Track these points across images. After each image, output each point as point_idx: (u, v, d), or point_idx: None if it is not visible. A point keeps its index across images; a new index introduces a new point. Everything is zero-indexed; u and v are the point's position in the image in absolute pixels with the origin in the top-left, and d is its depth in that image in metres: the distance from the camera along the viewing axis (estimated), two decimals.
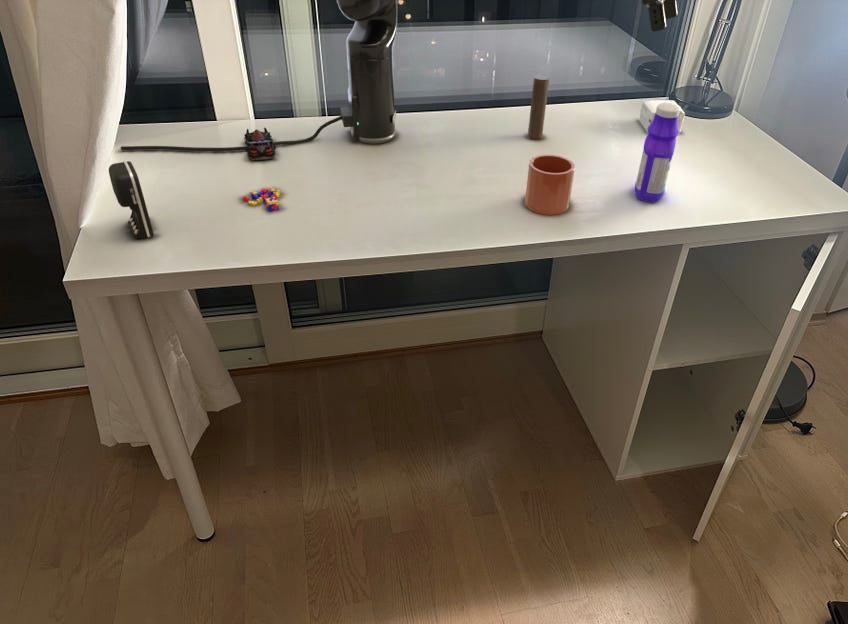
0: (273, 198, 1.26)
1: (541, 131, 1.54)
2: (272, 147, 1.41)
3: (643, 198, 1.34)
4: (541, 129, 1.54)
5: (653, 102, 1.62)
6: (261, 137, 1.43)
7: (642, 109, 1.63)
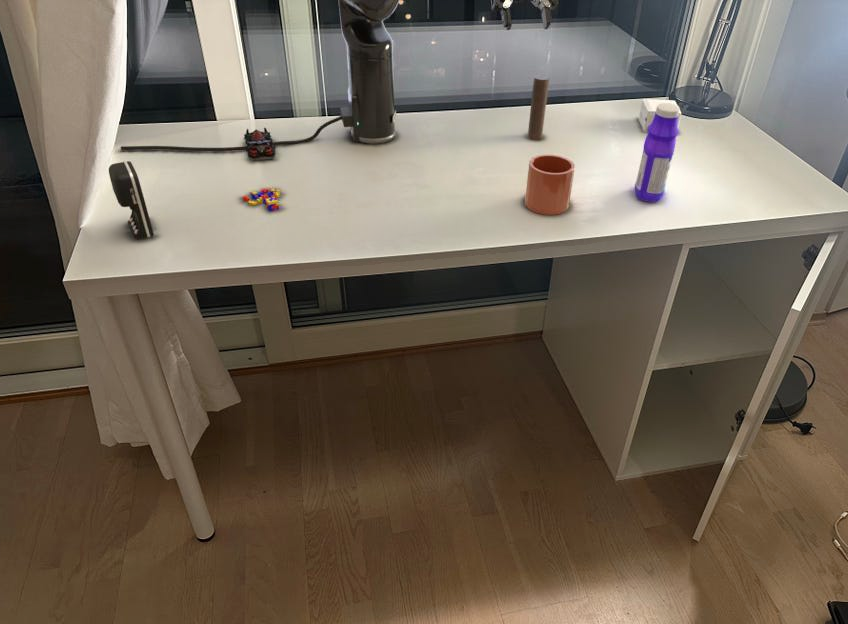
0: (273, 198, 1.26)
1: (541, 131, 1.54)
2: (272, 147, 1.41)
3: (643, 198, 1.34)
4: (541, 129, 1.54)
5: (652, 101, 1.62)
6: (261, 137, 1.43)
7: (641, 108, 1.64)
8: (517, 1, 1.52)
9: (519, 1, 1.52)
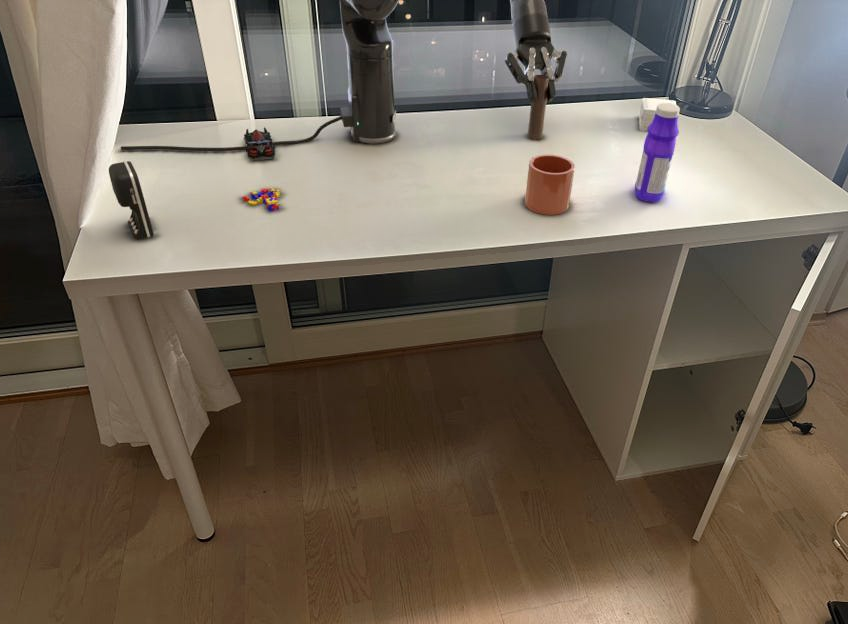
0: (273, 198, 1.26)
1: (541, 131, 1.54)
2: (272, 147, 1.41)
3: (643, 198, 1.34)
4: (541, 129, 1.54)
5: (652, 100, 1.63)
6: (261, 137, 1.43)
7: (641, 106, 1.64)
8: None
9: None
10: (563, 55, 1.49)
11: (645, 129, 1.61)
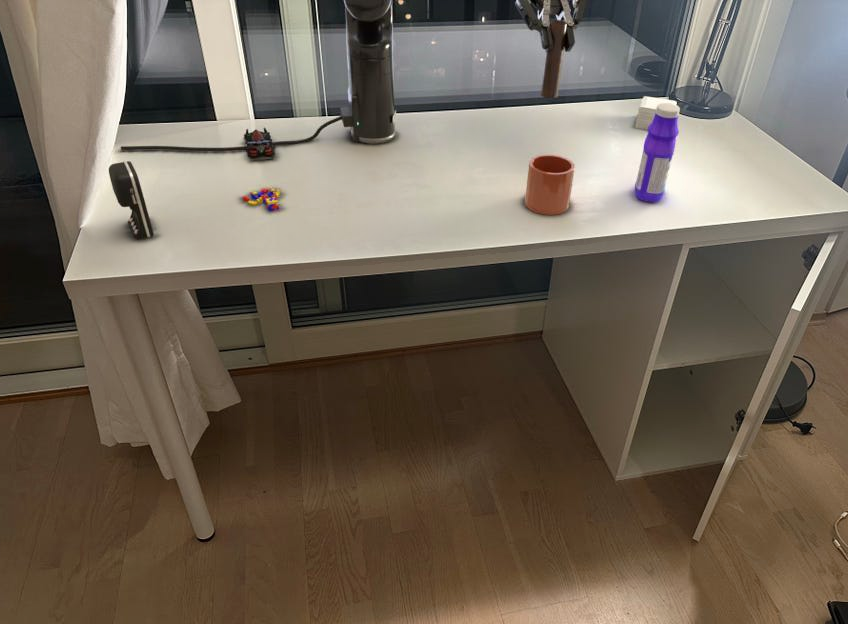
0: (273, 198, 1.26)
1: (557, 88, 1.32)
2: (271, 147, 1.41)
3: (643, 198, 1.34)
4: (557, 85, 1.32)
5: (652, 99, 1.64)
6: (260, 137, 1.43)
7: None
8: None
9: None
10: None
11: (640, 127, 1.62)
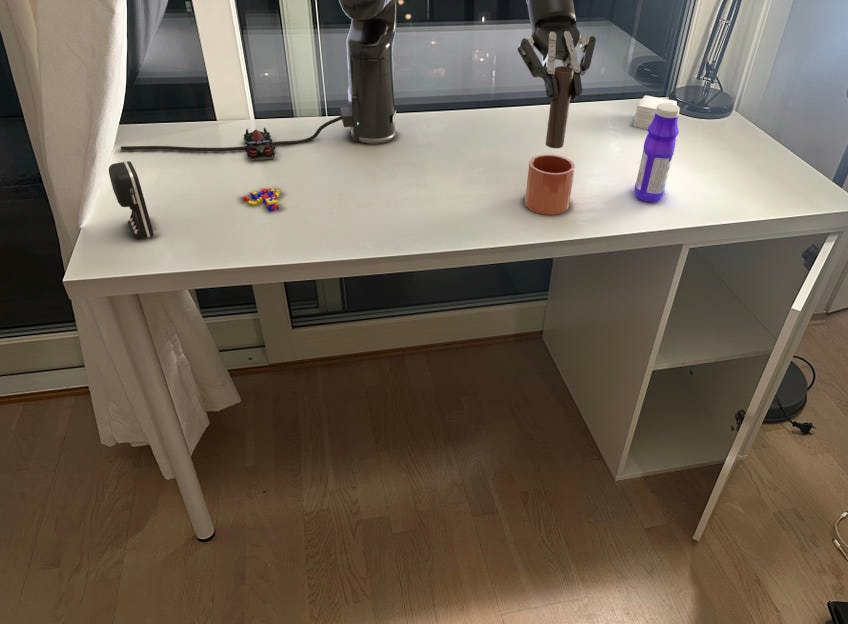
0: (273, 198, 1.26)
1: (563, 137, 1.23)
2: (271, 147, 1.41)
3: (643, 198, 1.34)
4: (563, 135, 1.22)
5: (652, 98, 1.64)
6: (260, 137, 1.43)
7: None
8: None
9: None
10: (591, 41, 1.18)
11: (638, 126, 1.63)
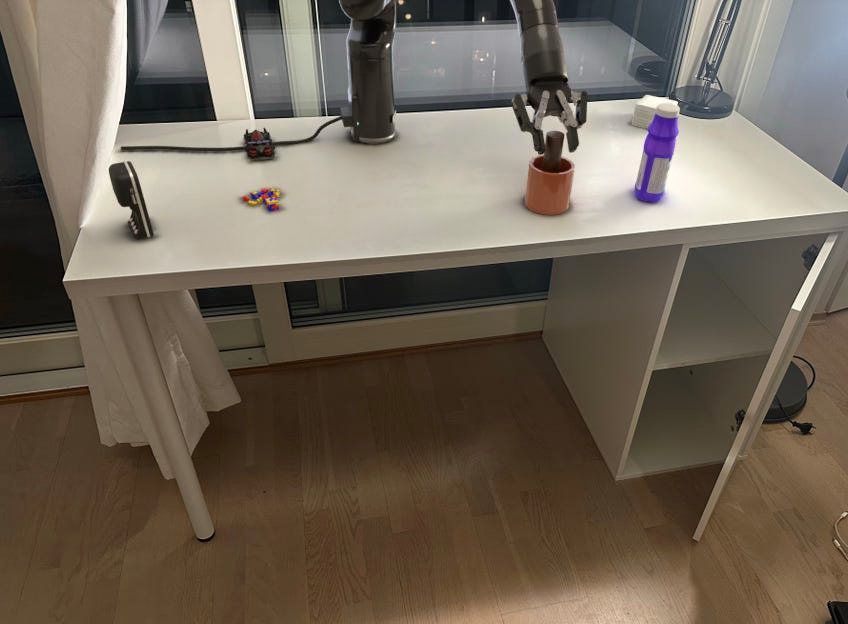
0: (273, 198, 1.26)
1: None
2: (271, 147, 1.41)
3: (643, 198, 1.34)
4: None
5: (652, 98, 1.64)
6: (260, 137, 1.43)
7: None
8: (543, 115, 1.24)
9: (545, 115, 1.24)
10: (583, 96, 1.24)
11: (636, 124, 1.63)
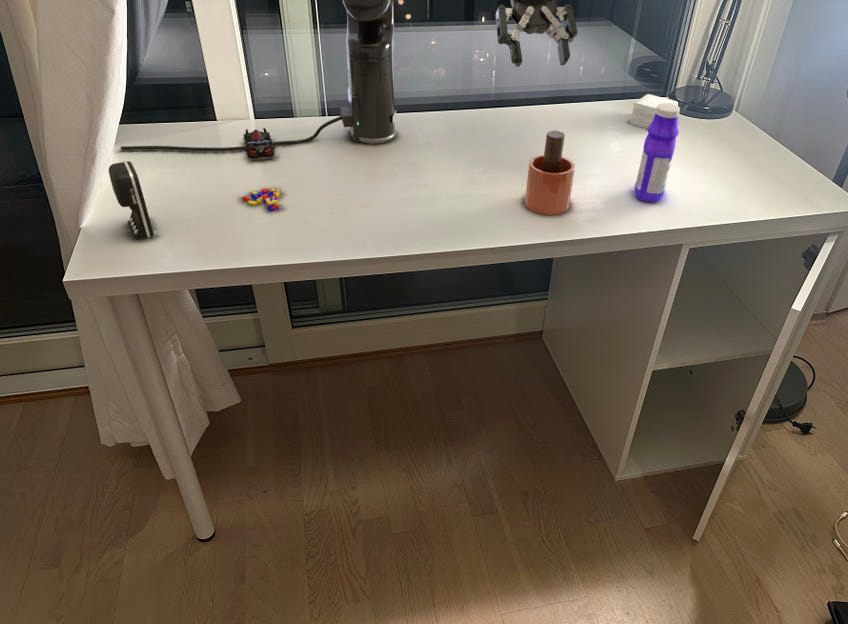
0: (273, 198, 1.26)
1: None
2: (271, 147, 1.41)
3: (643, 198, 1.34)
4: None
5: (653, 97, 1.64)
6: (260, 137, 1.43)
7: None
8: (528, 32, 1.25)
9: (530, 32, 1.25)
10: (569, 9, 1.26)
11: (635, 123, 1.64)
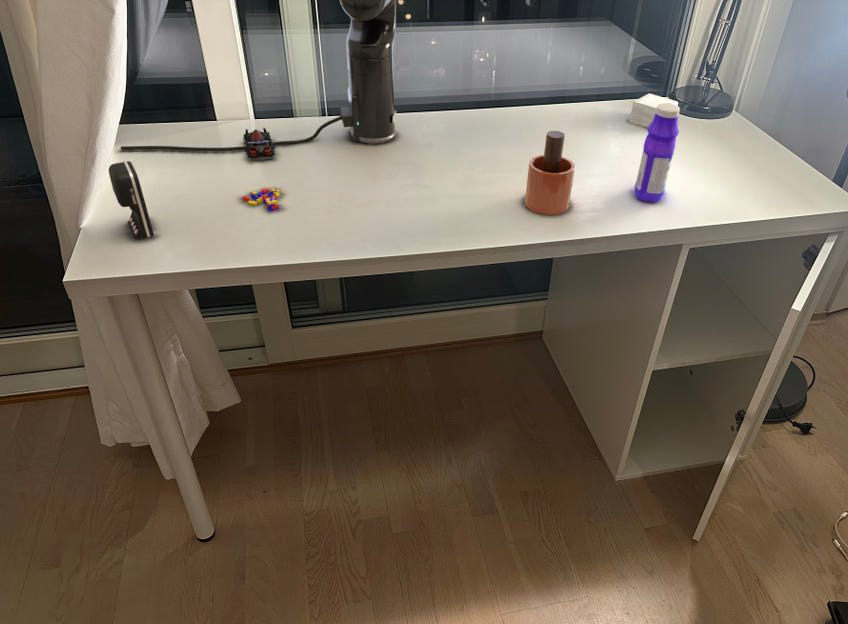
0: (273, 198, 1.26)
1: None
2: (271, 147, 1.41)
3: (643, 198, 1.34)
4: None
5: (654, 96, 1.65)
6: (260, 137, 1.43)
7: None
8: None
9: None
10: None
11: (634, 122, 1.64)
